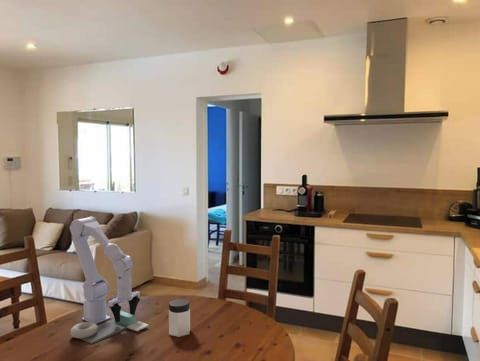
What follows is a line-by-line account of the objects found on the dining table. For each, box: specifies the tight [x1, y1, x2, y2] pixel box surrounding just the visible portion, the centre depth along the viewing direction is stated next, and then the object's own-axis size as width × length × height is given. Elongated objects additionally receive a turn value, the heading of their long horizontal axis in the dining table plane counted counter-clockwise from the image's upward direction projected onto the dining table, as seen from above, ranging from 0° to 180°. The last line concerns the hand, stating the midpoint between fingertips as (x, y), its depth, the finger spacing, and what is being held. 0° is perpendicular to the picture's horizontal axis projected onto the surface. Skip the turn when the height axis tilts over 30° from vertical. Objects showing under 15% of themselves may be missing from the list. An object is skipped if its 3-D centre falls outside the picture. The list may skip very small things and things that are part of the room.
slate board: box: [78, 318, 138, 345], centre depth 159 cm, size 11×22×1 cm, turn 145°
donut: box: [69, 321, 98, 339], centre depth 153 cm, size 10×4×10 cm
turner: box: [119, 310, 150, 332], centre depth 162 cm, size 16×6×4 cm, turn 55°
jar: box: [168, 298, 191, 338], centre depth 156 cm, size 9×8×12 cm
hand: (125, 318), depth 164 cm, fingers open, 7 cm apart
